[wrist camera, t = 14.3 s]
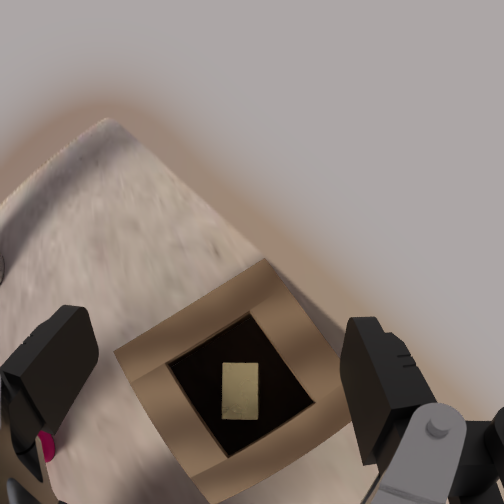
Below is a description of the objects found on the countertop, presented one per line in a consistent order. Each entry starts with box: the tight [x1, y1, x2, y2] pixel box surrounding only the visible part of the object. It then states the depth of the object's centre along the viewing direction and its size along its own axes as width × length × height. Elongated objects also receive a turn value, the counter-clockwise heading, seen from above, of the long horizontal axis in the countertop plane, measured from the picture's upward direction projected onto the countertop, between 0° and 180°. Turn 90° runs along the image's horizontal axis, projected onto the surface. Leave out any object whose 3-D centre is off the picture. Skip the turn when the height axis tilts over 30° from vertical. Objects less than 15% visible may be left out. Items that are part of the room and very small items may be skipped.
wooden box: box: [113, 258, 352, 504], centre depth 28 cm, size 15×15×13 cm
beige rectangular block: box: [222, 363, 260, 420], centre depth 29 cm, size 5×3×10 cm, turn 0°
